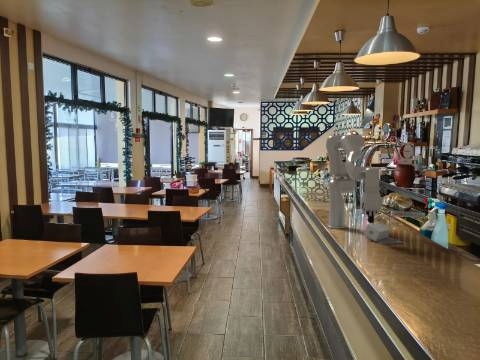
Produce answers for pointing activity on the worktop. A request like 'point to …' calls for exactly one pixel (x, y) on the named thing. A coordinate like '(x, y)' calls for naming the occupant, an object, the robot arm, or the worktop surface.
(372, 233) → the small box
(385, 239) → the mat
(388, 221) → the worktop surface
